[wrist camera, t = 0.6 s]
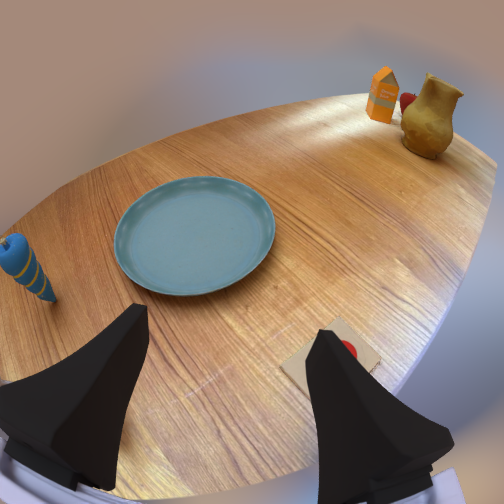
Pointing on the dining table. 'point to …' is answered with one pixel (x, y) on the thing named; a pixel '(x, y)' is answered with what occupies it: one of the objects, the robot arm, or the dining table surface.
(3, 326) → the dining table surface
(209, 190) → the teal plate
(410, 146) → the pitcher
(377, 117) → the orange juice
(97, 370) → the robot arm
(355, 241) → the dining table surface
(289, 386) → the dining table surface
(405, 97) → the apple
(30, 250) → the ornament
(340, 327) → the button block
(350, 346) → the button
